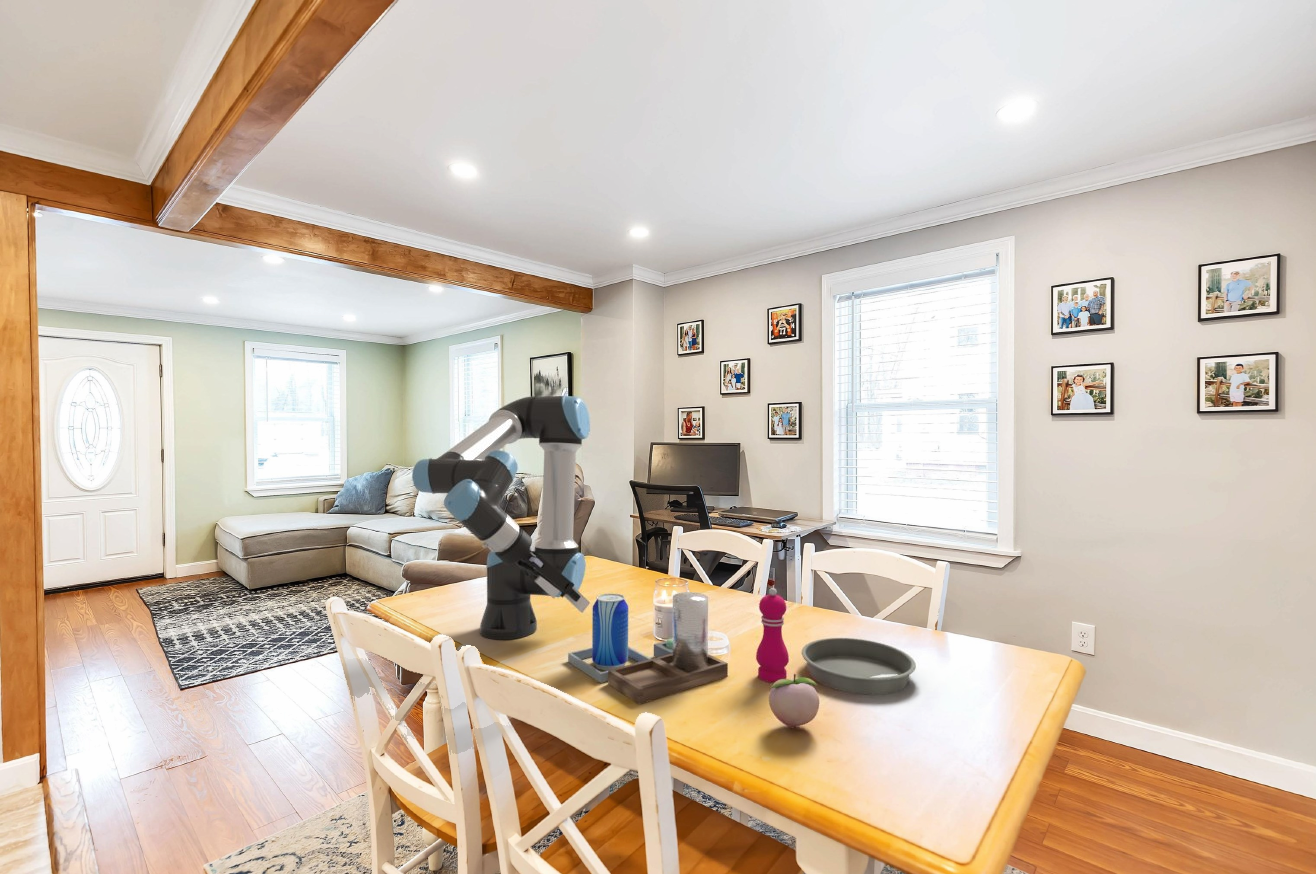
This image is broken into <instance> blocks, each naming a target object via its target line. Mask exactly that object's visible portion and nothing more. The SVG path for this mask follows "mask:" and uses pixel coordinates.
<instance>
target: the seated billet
mask: <svg viewBox="0 0 1316 874" xmlns="http://www.w3.org/2000/svg"><path fill="white" fill-rule="evenodd" d="M672 638H673V656H672V666H674V667H676V668H678V669H680V670H682V671H684V672H686V673H688V672H692V671H695V670H699V669H702V668H705V667H708V654H709V596H708V595H707V594H704V593H701V592H700V593H699V592H692V591H691V592H689V591H688V592H687V591H686V592H680V593H679V592H678V593H675V594H673V595H672Z"/></svg>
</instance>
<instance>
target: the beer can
mask: <svg viewBox="0 0 1316 874" xmlns="http://www.w3.org/2000/svg"><path fill="white" fill-rule="evenodd" d="M591 615H592V625H591V626H592V632H591V633H592V635H591V637H592V638H591V639H592V643H591V645H592V646H591V648H592V657H591V658H592V659H591V660H592V663H593V664H594V665H595V667H596V669H597V670H601V671H608V670H611V669H615V668H619V667H623V666H626V663H627V662H628V661H629V656H628V647H629V605H628V603H627V601H626V599H625V596H624V594H620V593H602V594H599V595H597V596H596V601H595V602H594V603H593V605H592V614H591Z"/></svg>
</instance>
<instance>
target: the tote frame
mask: <svg viewBox="0 0 1316 874" xmlns="http://www.w3.org/2000/svg"><path fill="white" fill-rule="evenodd" d="M587 658H592V647H589V648H585V649H580V650H576V651H572V652H571V651H570V652H568V653H567V662H568V663H570V664H571V665H572V666H575V668H578V669H579V670H580V671H582V672H583V673H584V674H586V675H588V676H589V677H590V678H593V680H595V681H597V682H598V683H600V684H603V683H606V682H608V671H606V670H604V671H600V669H598V668H595V667H594V666H593V665H590V663H588V662H586V661H584V659H587ZM628 658H631V659H632V658H633V659H632V660H634V659H635V660H634V661H636V660H637V661H636V662H637V663H638V662H641V661H645V660H649V659H652V658H650V657H649V656H647V655H645V654H643V653H642V652H640V651H638V650H636V649H634V648H632V647H630V646H628Z"/></svg>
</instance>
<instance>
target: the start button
mask: <svg viewBox="0 0 1316 874" xmlns="http://www.w3.org/2000/svg"><path fill="white" fill-rule="evenodd" d="M665 641H666V647H667V648H669V649H671V650H673V637H670V638H668V639H666V640H665Z"/></svg>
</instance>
